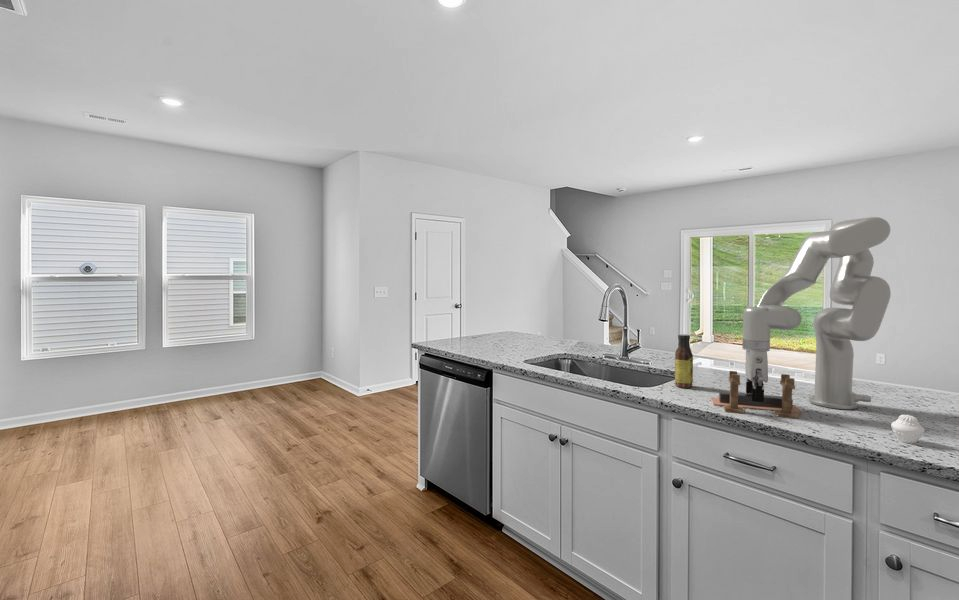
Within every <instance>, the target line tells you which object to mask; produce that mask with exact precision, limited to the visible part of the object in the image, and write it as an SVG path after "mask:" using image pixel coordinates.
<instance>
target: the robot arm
mask: <svg viewBox="0 0 959 600" xmlns="http://www.w3.org/2000/svg"><path fill="white" fill-rule="evenodd" d="M890 234H891V226H890V223H889V222H888V221H887V220H886V219H884V218H883V217H879V216H871V217H863V218H854V219H849V220H848V219H847V220H843V221H839V222H836V223H834V224H833V225H832V226H831V227H830V228H829V230H826V231H817V232H813V233H810V234H808V235H807V236H806V237H804V239H803V241H802V242H801V244H800V246H799V248H798V250H797V252H796V254H794V255H795V256H794V258H793V259H792V261H791V263H790V265H789V267H788V269H787V270H786V272H785V273H784V274H783V275H782V276H781V277H780V278H778V279H777V280H776V281H775V282H774V283H773V284H771V286H769V287H768V289H766V291H765V292H764V293H763V295H762V296H761V298H760V300H759V302H758V304H757V306H747V307H745V308H744V310H743V312H742V350H745V364H744V365H745V368H744V369H745V371H744V372H745V376H746V381H745V394H752V401H754V402H764V395H765V384H764V383H768V382H769V364H768V363H769V361H768V359H769V358H768V352H770V351H771V349H770V348H771V330H779V331H792V330H794V329H796V328H798V327H799V326H800V324H801V323H802V315H801V313H800V312H799V311H798V310H797V309H795V308H793V307H789V306H784V304H785V302H786V301H787V300H788V299H789V298H790V297H792V296H793V295H795V294H797V293H798V292H803V291H804V290H806V289H808V288H810V287H812V286H814V285H815V284H816V283H817V282H818V280H819V277H821V274H822V273H823V270H824V268H825V267H826V265H827V263H828V261H829V260H830V259H839V261H838V265H837V269H836V271H835V274H834V277H833V280H832V283H831V286H830V289H829V298H830V300H831V301H832V302H833V303H835V304H837V305H838V304H839V305H842V306H843V305H844V306H851V308H844V307H825V308H823V309H821V310H819V311H818V312H816V314H815V315H814V317H813V330H814V334H815V342H816V343H815V347H816V348H815V350H816V351H815V367H814V369H815V371H814V372H815V373H814V377H815V378H814V394H813V395H810V396H808V402H809V403H811V404H814V405H816V406H820V407H825V408H830V409H837V410H855V409H857V408H858V406H859V405H858V403H859V402H863V403H872V397H871V396H870V395H863V394H860V393H859V394H857V393H855V392H853V370H854V356H855V354H854V347H853V345H852V342H851V341H855V342H866V341H869V340H871V339H873V338H874V337H875V336H876V334H877V333H878V331H879V330H880V328H881V324H882V322H883V319H884V317H885V314H886V312H887V309H888V306H889V304H890V303H889V302H890V300H891V288H890V285H889V283H888V282H887V281H886V280H885V279H883V278H882V277H879V276H876V275H875V276H873V275H872V271H873V267H874V256H873V254H872V252H871V251H870V249H871V248H873V247H875V246H878V245H881V244H882V243H884V242H885V241H886V240H887V239H888V237H889V236H890Z"/></svg>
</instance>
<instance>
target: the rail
mask: <svg viewBox="0 0 959 600" xmlns="http://www.w3.org/2000/svg"><path fill="white" fill-rule="evenodd" d="M718 393H719V394H718V398H719V401H720V403H730V391H729V392H728V391H719V392H718ZM793 401H794V400H793V398H792V406H793V405H794V404H793ZM738 404H741V405H752V406H763V407H775V408H782V396H780V395H778V396H777V395H770V394H768V395H767V394H764V402H754V401H752V394H748V393H746V392H745V393H742V392H738Z"/></svg>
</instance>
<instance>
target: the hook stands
mask: <svg viewBox="0 0 959 600" xmlns="http://www.w3.org/2000/svg"><path fill="white" fill-rule="evenodd" d="M728 375H729V376H728V381H729V392H730V406H729V405H724V406H723V410H724V412H725V413H726V412H727V413H733V412H734V414H735V413H736V414H745V409H744V408H742V407H740V406H738V393H739V386H741V381H740V380H741V378H740V377H741V375H740V374H738V371H737V370H729V374H728ZM780 375H781V376H780V381H779V383H780V385H781V386H782V389H781V390H782V410H775V411H774V413H775V414H777V415H778V416H777V415H776V416H777V417H778V418H785V417H788V418H787V419H796V418H797V419H799V414H798V413H795V411H791V410H792V399H793V390H796V385H795V381H796V380H795V378H791V375H790V374H787V373H784V374H783V373H782V374H780Z"/></svg>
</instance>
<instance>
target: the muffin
mask: <svg viewBox="0 0 959 600" xmlns="http://www.w3.org/2000/svg"><path fill="white" fill-rule="evenodd" d="M918 421H919V420H918V418H917V417H915V416H913V415H909V414H901V415H899V416H898V418H897V419H896V420H895V421H893V422H891V423H890V427H891V429H892V432H893V433H894V435H895V437H896V439H897V441H899V442H901V441H902V442H901V443H904V442H905V443H906V444H912V443H914V444H916V443H917V442H918V441H919V440H920V439H921V438H922V437H923V435H924V433H925V428H924V427H923V426H922V425H921V423H920V422H918ZM912 445H913V444H912Z"/></svg>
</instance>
